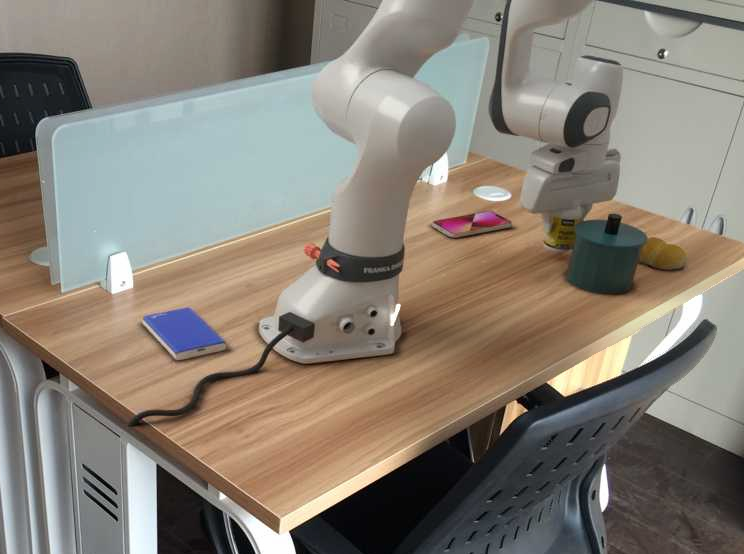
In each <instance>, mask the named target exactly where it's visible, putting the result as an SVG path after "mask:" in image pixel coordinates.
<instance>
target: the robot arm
mask: <svg viewBox="0 0 744 554" xmlns="http://www.w3.org/2000/svg"><path fill="white" fill-rule="evenodd" d="M594 1H595V0H506V1H505V2H506V3H505V5H504V9H503V14H502V20H501V27H500V35H499V42H498V43H499V44H498V50H497V51H498V52H497V60H496V68H495V77H494V82H493V86H492V90H491V93H490V97H489V100H488V101H489V102H488V107H487V108H488V116H489V119H490V121H491V123H492V125H493V127H494V129H495V130H496V131H497V132H499V133H500V134H503V135H508V136H513V137H514V136H515V137H523V138H528V139H531V140H534V141H538V142H541V143H545V144H544V145H543V146H541V147H539V148H538V149H535V150H534V151H532V152H530V155H529V159H528V163H529V164H530V165H532V166H530V167H529V168H528V170H527V171H526V173H525V176H524V179H523V182H522V187H521V192H520V197H519V205H520V207H521V208H522V209H523V210H524V211H526V212H527V213H530V214H532V215H536V214H537V215H538V214H540V216H541V219H542V227H541V231H542V232H544V233H551V232H554V231H555V227H556V223H554V222H553V220H552V216H554V214H555V210H560V209H566V208H570V206H571V205H572V201H573V200H578V199H581V202H580V205H579V207H578V208H579V209H580V210H581V213H582V214H581V219H580V222H582V221H585V219H586V217H587V216H588V215H589V213H590V212H591V210H592V209H593V205H594V204H598V203H605V202H610V201H612V200H613V199H614V197H615V196H616V195H617V191H618V188H619V182H620V174H621V166H620V164H621V158H622V155H621V152H620V151H619V150H618V149H617V148H609V145H610V141H611V127H612V124H613V121H614V120H615V118H616V116H617V113H618V109H619V104H620V99H621V94H622V87H623V78H624V67H623V65H622V64H621V63H620V62H619V61H617V60H614V59H609V58H603V57H599V56H598V57H597V56H594V55H590V54H589V55H586V54H585V55H581V56H579V57H578V58H577V59H576V61H575V63H574V66H573V69H572V72H571V75H570V78H569V79H568V80H566V81H565V82H562V81H557V80H554V79H553V80H552V79H549V78H544V77H540V76H538V75H536V74H535V73H534V72H533V71H532V70H531V68H530V63H531V62H530V61H531V55H532V48H533V43H534V42H533V41H534V35H535V30H536V29H540V28H543V27H547V26H553V25H558V24H561V23H565V22H566V21H569V20H572V19H573V18H575V17H577V16H578V15H580V14H581V13H582V12H584V11H585V10H587V9H588V8H589V7H590V6H591V4H592V3H593V2H594ZM474 2H475V0H382V1H381V3H379V4H380V5H379V6H378V8H377V10H376V11H375V13H374V15H373V16H372V19H371V20H370V21H369V23H368V24H367V25H366V27H365V28H364V30H363V31H362V32H361V33H360V35H359V36H358V37H357V39H356V40H355V41H354V42H353V44H351V46H350V47H349V48H348V49H347V50H346V51H344V53H343V54H342V55H340V56H339V57H337V58H336V59H333V60H331V61H330V62H328V63H327V64H326V65H325V66H324V67H323V68H322V69H321V70H320V72H319V73H318V75H317V76H316V78H315V80H314V83H313V86H312V90H311V91H312V92H311V102H312V103H311V104H312V107H313V110H314V112H315V114H316V115H317V117H318V118H319V119H320V120H321V122H322V123H323V124H324V125H325V126H326V127H327V128H328V129H329V130H330V131H331V132H332V133H333V134H334V135H337V136H338V137H340V138H341V139H344V140H345V141H347V142H349V143H351V144H353V145H354V146H355V149H356V157H355V160H354V164H353V167H352V170H351V172H350V173H349V176H347V177H345V178H344V179H342V180H341V181H339V182H338V183H337V185H336V186H335V187H334V189H333V192H332V194H331V206H330V216H329V218H330V219H329V228H328V236H327V238H325V240H324V243H323V244H322V247H321V248H320V247H319V246H317V245H316V244H315V243H313V242H308V243H306V244H305V246H304V247H303V248H304V249H303V254H305V255H306V256H307V257H309V258H310V259H312V260H316V261H315V264H314V265H313V266H312V267H310V269H308V270H307V271H306V272H304V274H302V275H301V276H300V277H298V279H296V280H295V281H294V282H293V283H291V284H290V285H289V286H287V287H286V288H285V289H283V291H282V292H281V293H280V294H279V296H278V299H277V301H276V305H275V309H274V314H273V315H271V316H268V317H264V318H262V319H261V320H259V325H258V332H259V335H260V336H261V338H262V339H263V341H264V342H265V343H266V346H265V348H264V350H263V352H262V355H261V357H260V359H259V360H258V362H257V363H256V364H255V365H253V366H252V367H249V368H248V369H244V370H240V371H239V370H238V371H223V372H215V373H211V374H208V375H206V376H205V377H203V378H201V379H200V380H199V382H197V384H196V386H195V387H194V390H193V394H192V397H191V399H190V400H189V402H188V403H187V404H186V405H184V406H182V407H180V408H177V409H147V410H143V411H141V412H139V413H137V414H136V415H135V416H132V418H131V419H130V420H129V422H128V423H127V425H126V426H127V427H128V428H132V427H134V426H136V425H137V424H138V423H139V422H140V421H141V420H143V419H145V418H148V417H149V418H150V417H176V416H182V415H184V414H186V413H188V412H189V411H191V410H192V409H193V408H194V407H195V406H196V405H197V402H198V401H199V397H200V394H201V391H202V389H203V387H204V386H205V385H206V384H208V383H209V382H211V381H214V380H219V379H228V378H237V377H244V376H248V375H252V374H255V373H256V372H257V371H259V370H261V368H263V366H264V365H265V363H266V361H267V359H268V358H269V357H268V356H269V354H270V353H271V351H272V350H273V351H275V352H276V353H278V354H280V356H282V357H284V358H286V359H288V360H291V361H293V362H295V363H299V364H303V365H308V364H318V363H326V362H334V361H342V360H351V359H359V358H368V357H377V356H386V355H391V354H393V353H394V352H395V349H396V347H395V346H396V342H397V341H398V340H399V339H400V337H401V335H402V324H401V319H400V309H401V304H400V303H399V289H400V288H399V287H400V273H402V271H403V268H404V261H405V252H406V247H405V244H404V237H405V231H406V225H407V224H406V223H407V219H408V213H409V207H410V202H411V198H412V195H413V193H414V192H413V191H414V189H415V187H416V185H417V183H418V181H419V180H420V177H421V176H422V174H423V173H424V171H425V170H426V169H427V168H429V167H430V166H432V165H434V164H435V163H437V162H438V161H440V160H441V159H442V158H443V157H444V156H445V154H446V153H447V152H448V150H449V149H450V146H451V144H452V143H453V140H454V138H455V133H456V130H457V129H456V128H457V117H456V112H455V110H454V108H453V105H452V104H451V102H450V101H448V99H446V98H445V97H444V96H443V95H442V94H441V93H440V92H438V91H437V90H436V89H435V88H433V87H432V86H431V85H430V84H428V83H426V82H423V81H421V80H419V79H416V78H415V77H416V76H417V73H418V72H419V71H420V70H421V68H422V67H423V66H424V65H425V64H426V62H428V61H429V60H430V59H431V58H432V57H434V56H435V55H436V54H438V53H439V52H441V51H443V50H445V49H447V48H449V47H450V46H452V45H453V44H454V43H455V42H456V40H457V39H458V37H459V35H460V33H461V31H462V29H463V26H464V24H465V22H466V19H467V17H468V16H469V13H470V11H471V8H472V7H473V4H474Z"/></svg>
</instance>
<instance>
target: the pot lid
mask: <svg viewBox="0 0 744 554" xmlns="http://www.w3.org/2000/svg"><path fill="white" fill-rule="evenodd" d="M622 219H623V216H622V215H621V214H618V213H609V214H608V216H607V219H588V220H584V221H582V222H580V223H578V224H576V226H575V229H574V231H575V233H576V235H577V236H578V237H580V238H581V239H583V240H585V241H587V242H590V243H592V244H596V245H599V246H603V247H609V248H616V249H633V248H638V247H641V246H643V245H645V244H646V242H647V238H648V235H647V234H646V233H645V232H644V231H642V230H641V229H639V228H638V227H635V226H633V225H631V224H628V223H624V222H622Z"/></svg>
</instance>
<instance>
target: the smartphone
mask: <svg viewBox="0 0 744 554" xmlns="http://www.w3.org/2000/svg"><path fill="white" fill-rule="evenodd" d="M431 225H432V227H433V228H434V229H436V230H437V231H438V232H441V233H443V234H444V235H446V236H448V237H450V238H461V237H467V236H473V235H477V234H483V233H488V232H493V231H497V230H498V231H499V230H503V229H508V228H511V227H512V225H513V222H512V221H511V219H508V218H506V217H504V216H502V215H500V214H499V213H496V212H495V211H492V210H486V211H480V212H476V213H475V212H474V213H470V214H464V215H459V216H458V215H457V216H453V217H448V218H442V219H436V220H433V221H432V224H431Z"/></svg>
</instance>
